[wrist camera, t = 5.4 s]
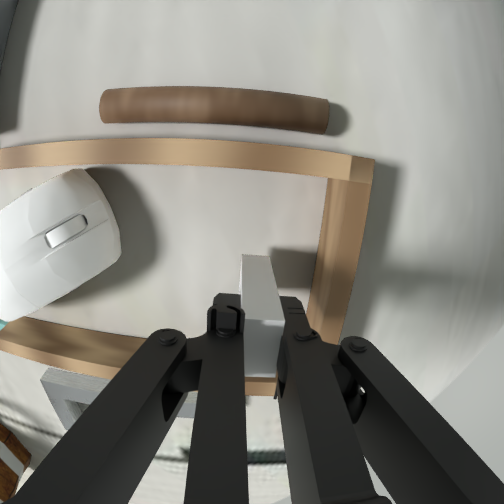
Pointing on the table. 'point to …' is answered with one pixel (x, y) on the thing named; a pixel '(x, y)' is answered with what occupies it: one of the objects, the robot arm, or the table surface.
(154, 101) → the walnut dowel
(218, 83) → the table surface
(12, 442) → the mug
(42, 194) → the computer mouse
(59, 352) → the wooden u-shaped frame
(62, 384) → the grey l-shaped bar
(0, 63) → the grey tray
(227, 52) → the table surface
